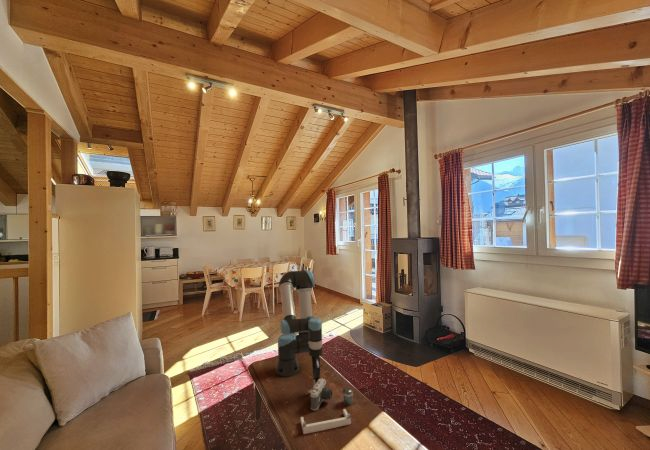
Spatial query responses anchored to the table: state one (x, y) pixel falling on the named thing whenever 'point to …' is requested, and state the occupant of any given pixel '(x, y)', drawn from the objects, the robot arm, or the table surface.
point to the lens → (347, 396)
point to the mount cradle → (326, 424)
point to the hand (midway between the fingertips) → (316, 389)
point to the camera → (319, 394)
